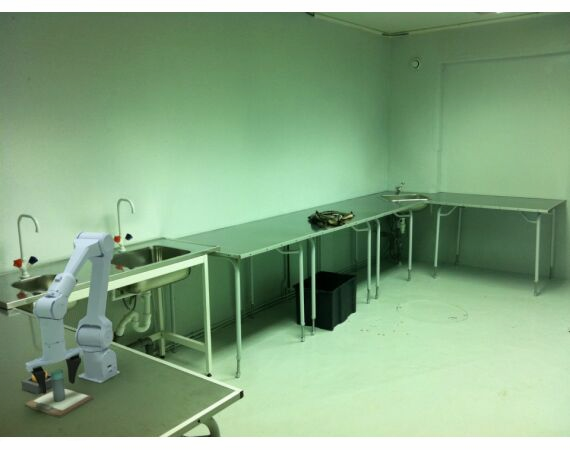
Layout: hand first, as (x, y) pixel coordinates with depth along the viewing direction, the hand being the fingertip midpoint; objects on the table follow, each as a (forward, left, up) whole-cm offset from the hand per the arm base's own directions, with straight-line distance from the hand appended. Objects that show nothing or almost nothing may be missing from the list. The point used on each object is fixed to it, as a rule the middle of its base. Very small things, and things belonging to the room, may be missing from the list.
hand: (58, 387), depth 142 cm
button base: (+13, -4, -4) cm, 14 cm away
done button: (+13, -4, -3) cm, 14 cm away
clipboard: (0, 0, -4) cm, 4 cm away
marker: (0, 0, -3) cm, 4 cm away
